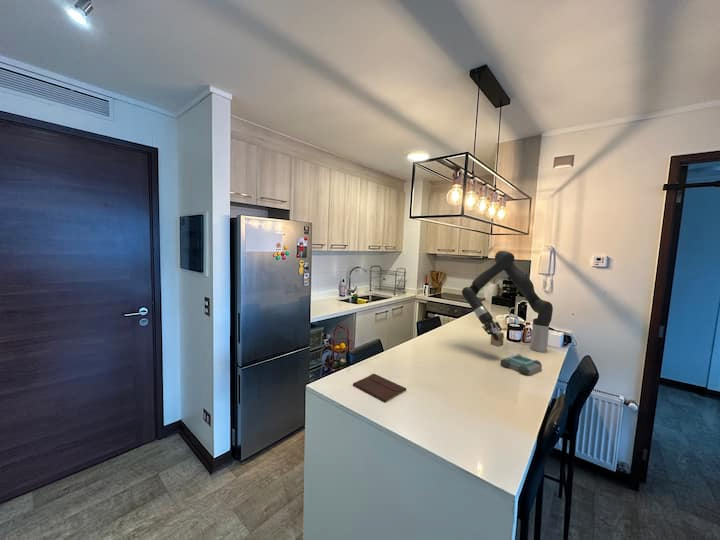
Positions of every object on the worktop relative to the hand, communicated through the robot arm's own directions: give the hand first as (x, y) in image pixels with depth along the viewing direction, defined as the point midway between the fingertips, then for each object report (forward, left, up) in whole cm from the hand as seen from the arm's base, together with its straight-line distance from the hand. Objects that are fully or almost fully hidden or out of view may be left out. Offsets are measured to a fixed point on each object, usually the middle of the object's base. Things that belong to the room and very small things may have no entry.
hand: (500, 338), depth 173 cm
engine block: (0, -2, -4) cm, 5 cm away
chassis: (0, +13, -13) cm, 18 cm away
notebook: (+84, -8, -13) cm, 85 cm away
